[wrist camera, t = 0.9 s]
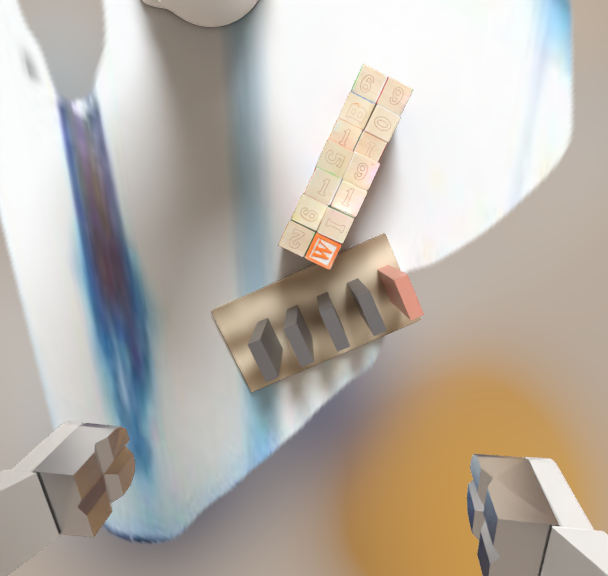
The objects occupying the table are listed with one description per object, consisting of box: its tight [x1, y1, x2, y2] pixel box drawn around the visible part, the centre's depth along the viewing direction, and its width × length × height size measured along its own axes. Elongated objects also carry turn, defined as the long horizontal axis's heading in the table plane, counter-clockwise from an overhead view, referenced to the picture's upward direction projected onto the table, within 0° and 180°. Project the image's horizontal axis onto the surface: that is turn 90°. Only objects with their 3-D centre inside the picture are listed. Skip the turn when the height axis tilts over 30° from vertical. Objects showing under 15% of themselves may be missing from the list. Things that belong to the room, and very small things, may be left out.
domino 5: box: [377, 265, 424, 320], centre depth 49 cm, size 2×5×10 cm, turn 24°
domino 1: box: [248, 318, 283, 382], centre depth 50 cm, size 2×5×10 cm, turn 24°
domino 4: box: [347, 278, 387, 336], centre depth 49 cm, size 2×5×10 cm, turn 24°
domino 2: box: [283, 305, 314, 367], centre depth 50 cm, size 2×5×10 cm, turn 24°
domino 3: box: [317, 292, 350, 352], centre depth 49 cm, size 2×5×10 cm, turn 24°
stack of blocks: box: [279, 64, 413, 270], centre depth 47 cm, size 21×6×12 cm, turn 154°
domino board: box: [211, 233, 420, 392], centre depth 55 cm, size 13×26×1 cm, turn 114°
